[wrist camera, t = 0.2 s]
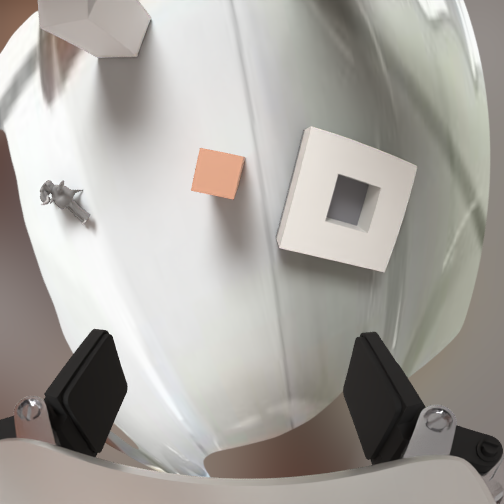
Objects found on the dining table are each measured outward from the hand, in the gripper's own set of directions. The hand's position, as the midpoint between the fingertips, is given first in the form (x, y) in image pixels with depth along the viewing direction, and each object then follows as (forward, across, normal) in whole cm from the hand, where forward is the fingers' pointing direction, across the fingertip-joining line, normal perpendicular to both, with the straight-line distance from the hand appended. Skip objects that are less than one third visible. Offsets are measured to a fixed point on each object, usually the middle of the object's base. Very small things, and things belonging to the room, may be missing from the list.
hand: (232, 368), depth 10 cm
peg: (+30, +2, -6) cm, 31 cm away
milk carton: (+30, +18, -28) cm, 44 cm away
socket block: (+30, -13, -3) cm, 33 cm away
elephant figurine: (+30, +26, -4) cm, 40 cm away
